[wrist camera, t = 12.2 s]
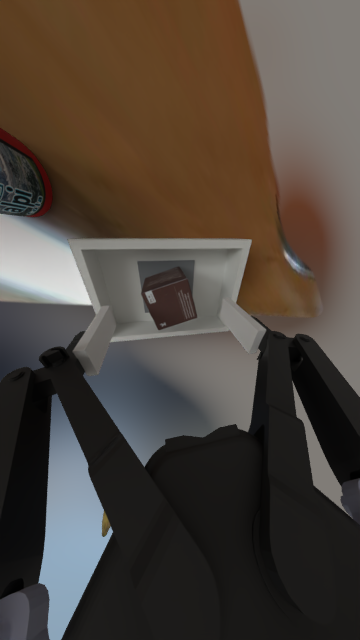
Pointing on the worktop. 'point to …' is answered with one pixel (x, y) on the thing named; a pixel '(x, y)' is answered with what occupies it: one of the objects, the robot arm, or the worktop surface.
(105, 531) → the vegetable
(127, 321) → the tray
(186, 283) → the box
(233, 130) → the worktop surface
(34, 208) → the beverage can
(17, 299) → the worktop surface
